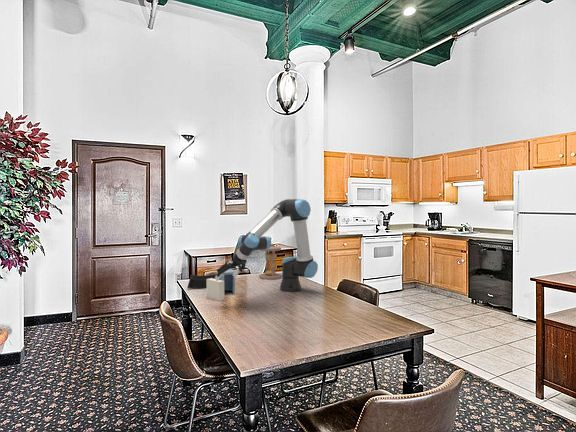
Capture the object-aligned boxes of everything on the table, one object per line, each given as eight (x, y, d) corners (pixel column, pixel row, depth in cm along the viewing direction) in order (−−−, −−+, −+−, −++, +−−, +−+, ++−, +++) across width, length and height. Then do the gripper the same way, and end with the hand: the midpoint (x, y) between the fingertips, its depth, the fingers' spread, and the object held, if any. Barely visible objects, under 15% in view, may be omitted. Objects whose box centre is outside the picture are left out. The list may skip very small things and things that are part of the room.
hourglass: (258, 276, 308) (258, 246, 307) (278, 275, 312) (278, 245, 311) (261, 280, 291) (261, 248, 290) (282, 279, 295) (283, 248, 294)
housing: (235, 294, 245) (235, 272, 244) (222, 295, 242) (222, 273, 242) (231, 289, 258) (231, 269, 257) (219, 290, 255) (219, 269, 255)
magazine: (184, 277, 256) (225, 262, 265) (183, 276, 259) (224, 262, 268) (191, 300, 258) (231, 284, 267) (190, 298, 261) (231, 284, 270)
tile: (224, 299, 230) (224, 281, 230) (219, 301, 227) (219, 281, 227) (211, 296, 239) (211, 278, 238) (206, 297, 236) (206, 279, 235)
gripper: (227, 262, 204) (211, 285, 214) (259, 258, 223) (243, 279, 233) (221, 252, 207) (205, 275, 218) (254, 248, 226) (238, 270, 236)
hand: (225, 277), depth 225 cm, fingers open, 13 cm apart
